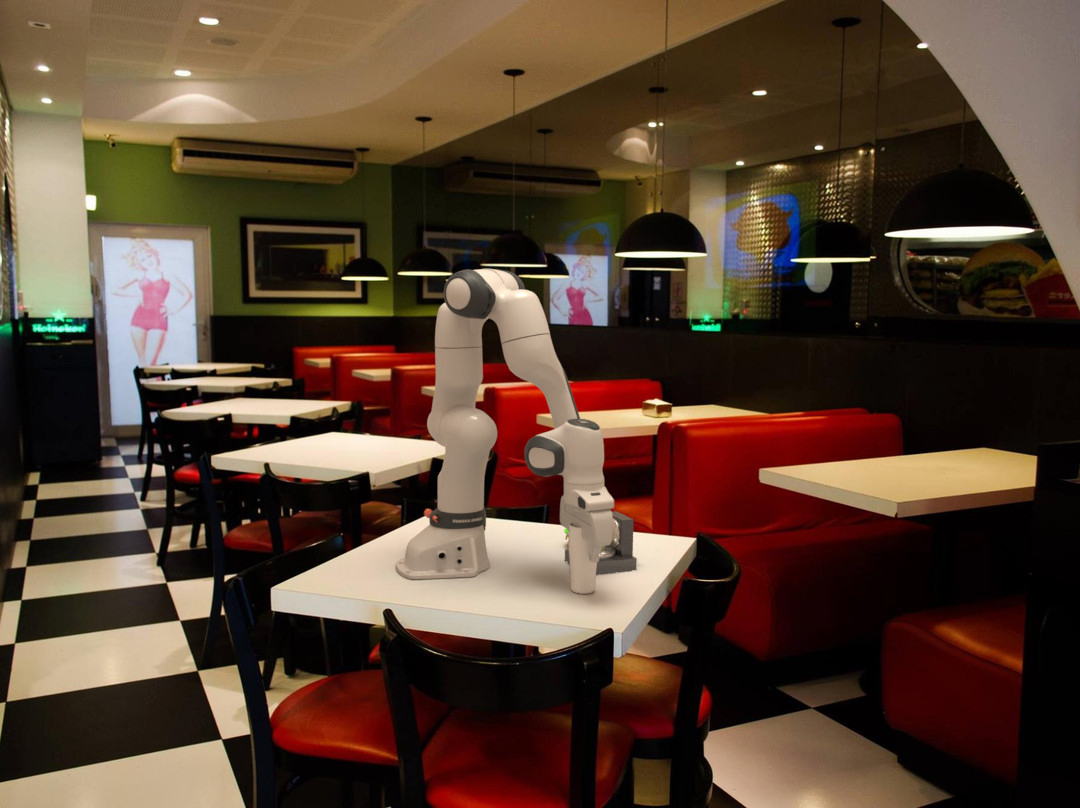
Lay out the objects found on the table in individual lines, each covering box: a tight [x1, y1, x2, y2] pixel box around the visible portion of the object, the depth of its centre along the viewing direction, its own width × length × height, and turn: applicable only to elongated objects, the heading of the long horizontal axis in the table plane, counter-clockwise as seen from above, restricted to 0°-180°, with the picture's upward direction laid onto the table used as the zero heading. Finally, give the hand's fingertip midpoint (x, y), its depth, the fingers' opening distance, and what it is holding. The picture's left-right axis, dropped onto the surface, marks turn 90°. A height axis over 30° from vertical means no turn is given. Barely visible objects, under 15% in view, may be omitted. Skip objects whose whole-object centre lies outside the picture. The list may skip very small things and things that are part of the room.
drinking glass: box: [567, 523, 597, 595], centre depth 186 cm, size 7×7×15 cm
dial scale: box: [564, 510, 637, 576], centre depth 205 cm, size 13×13×12 cm
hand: (584, 555), depth 186 cm, fingers open, 8 cm apart
